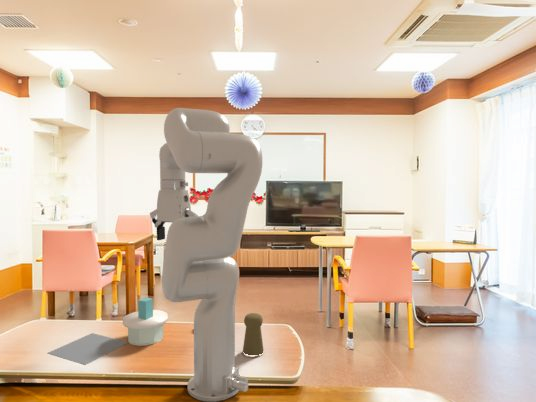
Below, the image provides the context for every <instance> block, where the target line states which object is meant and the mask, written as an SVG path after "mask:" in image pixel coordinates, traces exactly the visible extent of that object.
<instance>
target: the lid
mask: <svg viewBox="0 0 536 402" xmlns="http://www.w3.org/2000/svg"><path fill="white" fill-rule="evenodd" d="M168 320H169V314H168V313H167V312H165V311H163V310H159V309H154V298H152V297H142V298H140V299H138V300H137V311H133V312H130V313H129V314H127V315H125V316H123V318H122V325H123V326H124V327H125V328H127V329H128V328H131V329H148V328H153V327H157V326H160V325H162V324H163V325H164V324H166V323H167V322H168Z"/></svg>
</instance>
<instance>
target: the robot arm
mask: <svg viewBox="0 0 536 402" xmlns="http://www.w3.org/2000/svg"><path fill="white" fill-rule="evenodd" d="M165 117H166V118H165V120H164V123H163V133H164V139H165V143H164V144H163V145H162V146H160V148H159V155H158V157H159V177H160V178H159V180H160V189H159V190H158V194H157V201H156V202H157V203H156V209H154V210H152V211H150V212H149V216H150V218H151V222H152V223H153V225H154V228H156V240H157V241H162V240H166V241H165V247H164V248H165V249H164V256H163V266H162V274H161V289H162V293H163V295H164V297H165V298H166V300H168V301H169V302H171V303H183V302H189V301H191V302H192V301H199V300H200V301H199V303H198V304H197V307H196V308H195V312H194V316H193V376H192V377H190V378H189V380H188V382H187V392H188V395H190V396H191V397H192V398H194V399H196V400H199V401H201V402H202V401H203V402H220V401H226V400H228V399H231V398H233V397H234V396H235V395H236V394H238V393H239V391H242V392H244V393H245V392H248V389H249V383H248V382H249V377H246V376H241V375H240V374H239V373H240V368H239V367H237V366H236V365H235V363H236V362H235V360H236V359H235V357H236V354H235V350H236V346H235V343H236V334H235V333H236V331H235V329H236V327H235V326H236V300H237V293H238V292H237V291H238V286H239V281H240V269H239V268H240V267H239V264H238V263H237V261H236V260H235V259H234V258H233V256H234V255H235V254H236V253H237V251H238V250H239V248H240V245H241V241H242V236H243V232H244V229H245V228H244V227H245V222H246V218H247V213H248V210H249V209H248V208H249V206H250V203H251V200H252V197H253V195H254V194H255V191H256V190H257V186H258V185H259V182H260V178H261V175H262V171H263V151H262V148H261V145H260V144H259V142H258V141H257V139H255V138H253V137H251V136H249V135H246V134H242V133H235V132H234V133H233V132H230V127H231V126H230V124H229V121H228V120H227V118H226V117H225V116H224V115H223V114H221V113H220V112H218V111H215V110H209V109H200V108H199V109H196V108H187V107H186V108H185V107H176V108H173V109H172V110H170V111H169V112H168V114H167V115H166V116H165ZM186 173H188V174H227V175H226V177H225V178H223V179H222V180H221V181H220V182H219V183H218V184H216V186H215V187H214V189H213V190H212V191H211V193H210V194H209V197H208V200H207V207H206V212H205V213H204V214H203V215H198V214H196V213H195V212H193V210H192V209H191V200H190V193H189V190H187V189H186V187H188V186H189V183H188V182H187V181H186ZM166 223H171V224H170V225H169V227H168V231H167V235H166V227H165V226H164V225H165V224H166Z"/></svg>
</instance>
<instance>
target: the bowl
mask: <svg viewBox="0 0 536 402" xmlns="http://www.w3.org/2000/svg"><path fill="white" fill-rule="evenodd" d="M127 334H128V335H127V339H128V340H127V342H129V343H128V344H130V345H133V346H139V347H140V346H142V347H144V346H151V345H154V344H156V343H159V342H160V341H162V339H163V338H164V337H165V336H164V324H162V325H160V326H157V327H153V328H148V329H131V328H127Z"/></svg>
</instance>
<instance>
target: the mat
mask: <svg viewBox="0 0 536 402" xmlns="http://www.w3.org/2000/svg"><path fill="white" fill-rule="evenodd" d="M127 344H130V343H129V342H128V341H125V340H121V339H117V338H113V337H110V336H105V335H101V334H97V333H94V332H91V333H89V334H87V335H85V336H83V337H80V338H78V339H76V340H74V341H71V342H69V343H67V344H64V345H62V346H60V347H58V348H55V349H52V350H51V351H49V352H47V354H49V355H51V356H55V357H58V358H62V359H65V360H68V361H71V362H74V363H78V364H82V365H84V366H87V365H89V364H91V363H92V362H94V361H96V360H98V359H100V358H103V357H104V356H105V355H108V354H109V353H111V352H113V351H115V350H117V349H119V348H121V347H123V346H125V345H127ZM86 364H87V365H86Z"/></svg>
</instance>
